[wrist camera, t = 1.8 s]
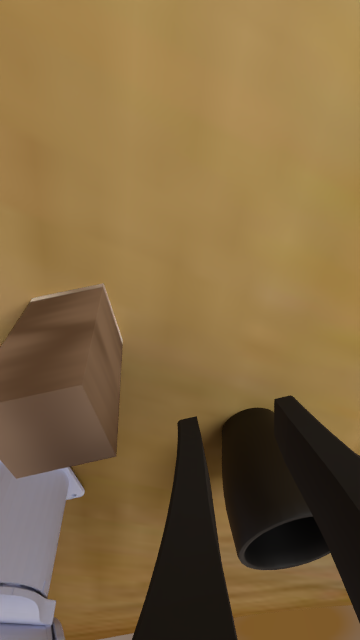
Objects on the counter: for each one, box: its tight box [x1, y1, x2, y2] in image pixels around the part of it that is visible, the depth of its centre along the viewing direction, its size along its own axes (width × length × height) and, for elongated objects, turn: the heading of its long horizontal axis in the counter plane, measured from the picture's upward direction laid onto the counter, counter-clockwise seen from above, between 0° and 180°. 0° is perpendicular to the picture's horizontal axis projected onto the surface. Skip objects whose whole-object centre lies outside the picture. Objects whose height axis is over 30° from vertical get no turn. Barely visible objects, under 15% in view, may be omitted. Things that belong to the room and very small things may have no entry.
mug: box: [222, 408, 360, 570], centre depth 24 cm, size 8×12×10 cm
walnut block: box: [0, 283, 123, 479], centre depth 16 cm, size 4×4×9 cm
